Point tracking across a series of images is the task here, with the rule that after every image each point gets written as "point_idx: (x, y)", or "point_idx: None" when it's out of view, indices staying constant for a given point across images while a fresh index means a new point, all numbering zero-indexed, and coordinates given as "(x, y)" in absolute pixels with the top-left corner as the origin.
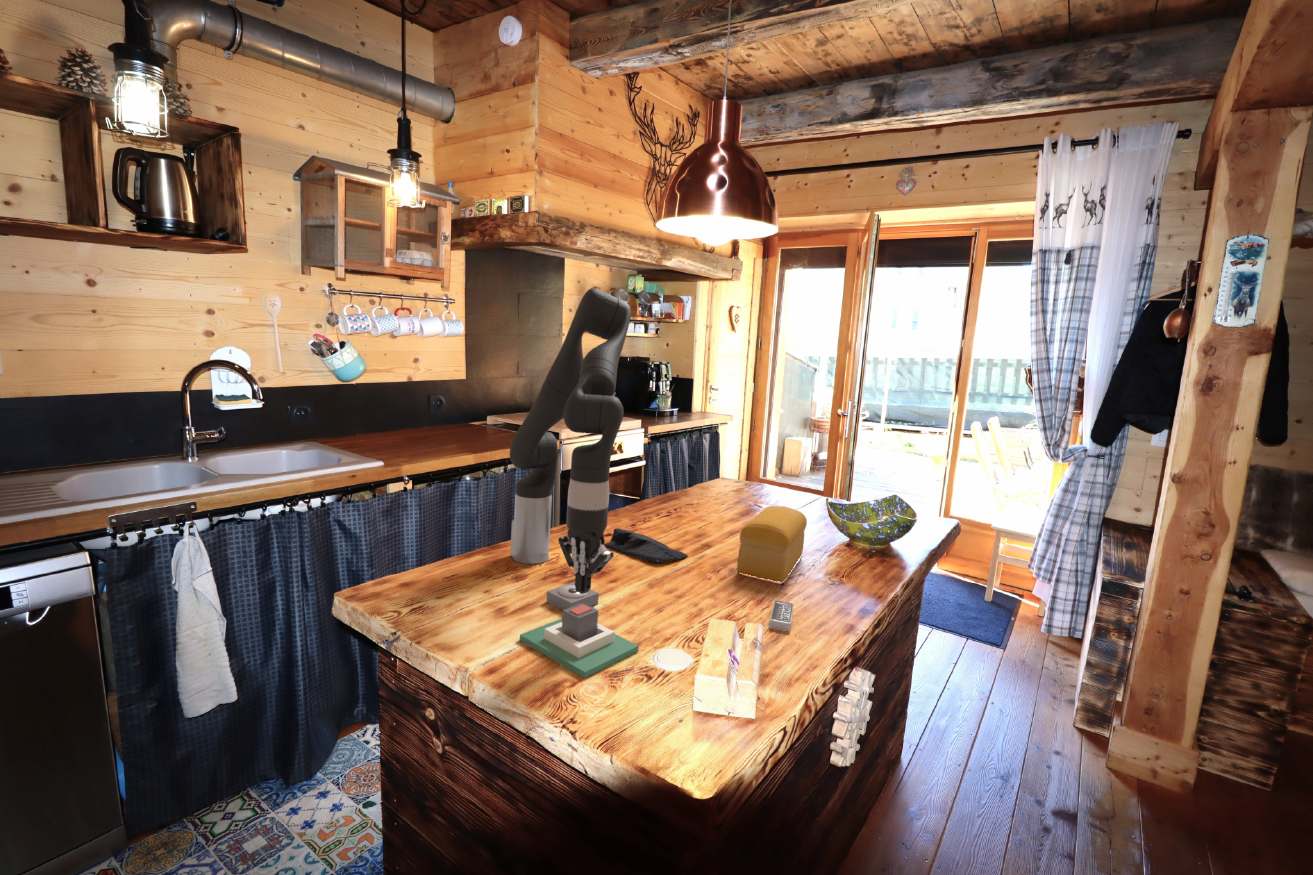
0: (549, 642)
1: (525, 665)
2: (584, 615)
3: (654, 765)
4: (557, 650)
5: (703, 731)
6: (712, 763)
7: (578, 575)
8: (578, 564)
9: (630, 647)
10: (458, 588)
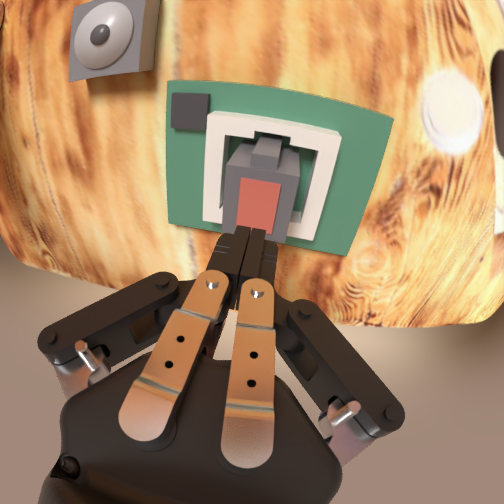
0: None
1: None
2: (286, 223)
3: (456, 318)
4: None
5: (499, 262)
6: (499, 293)
7: (231, 305)
8: (217, 342)
9: (382, 135)
10: (11, 168)
